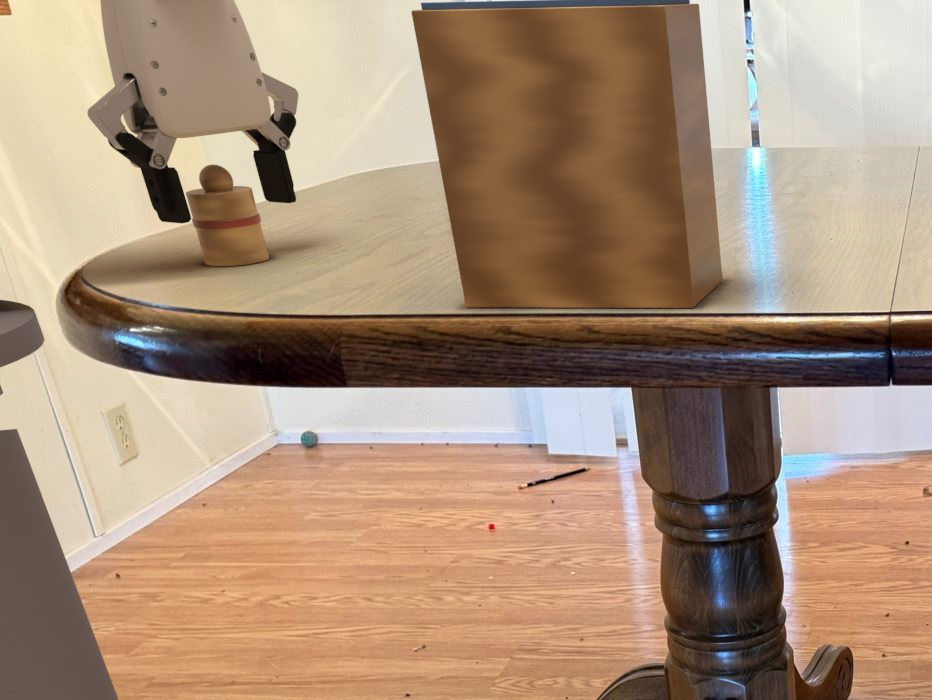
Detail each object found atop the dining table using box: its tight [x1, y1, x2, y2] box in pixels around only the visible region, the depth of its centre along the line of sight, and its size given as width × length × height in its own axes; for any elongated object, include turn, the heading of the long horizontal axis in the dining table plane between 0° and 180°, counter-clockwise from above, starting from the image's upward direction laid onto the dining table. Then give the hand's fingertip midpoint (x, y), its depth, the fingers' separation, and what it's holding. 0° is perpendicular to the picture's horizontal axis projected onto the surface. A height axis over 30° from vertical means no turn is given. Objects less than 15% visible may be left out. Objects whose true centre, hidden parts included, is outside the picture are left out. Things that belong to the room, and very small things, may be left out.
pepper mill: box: [185, 164, 270, 267], centre depth 100 cm, size 5×5×7 cm
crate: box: [410, 3, 723, 309], centre depth 84 cm, size 16×9×18 cm, turn 85°
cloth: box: [420, 0, 691, 10], centre depth 79 cm, size 15×8×1 cm, turn 85°
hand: (230, 211), depth 101 cm, fingers open, 9 cm apart
